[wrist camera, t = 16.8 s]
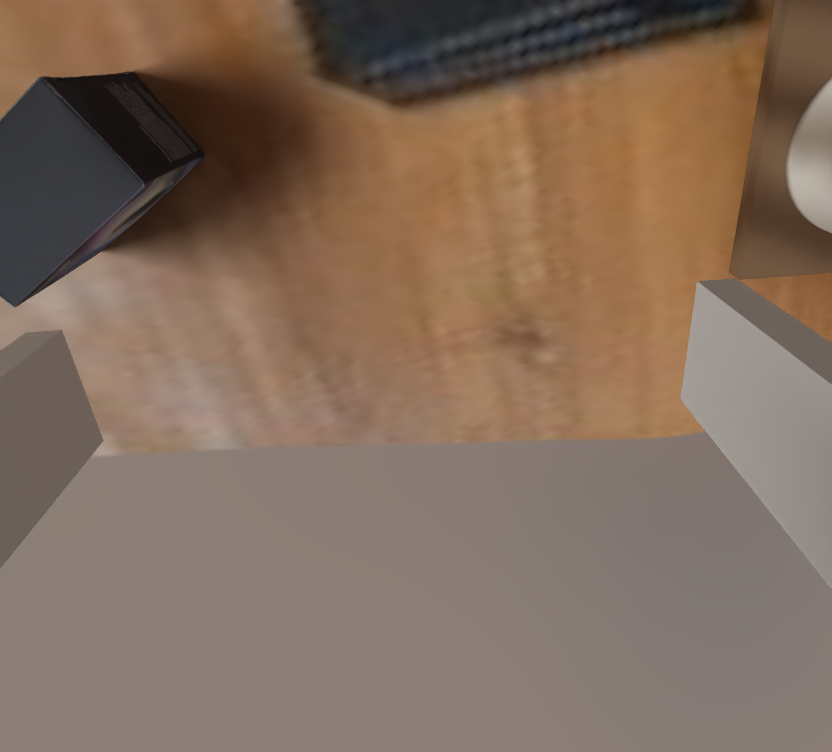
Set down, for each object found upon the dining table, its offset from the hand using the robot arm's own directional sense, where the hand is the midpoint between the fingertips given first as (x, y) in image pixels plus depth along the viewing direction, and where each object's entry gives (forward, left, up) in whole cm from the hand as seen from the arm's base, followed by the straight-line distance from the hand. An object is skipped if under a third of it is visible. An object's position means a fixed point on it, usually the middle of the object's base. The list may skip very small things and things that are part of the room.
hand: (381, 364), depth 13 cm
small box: (-1, -18, -29) cm, 34 cm away
